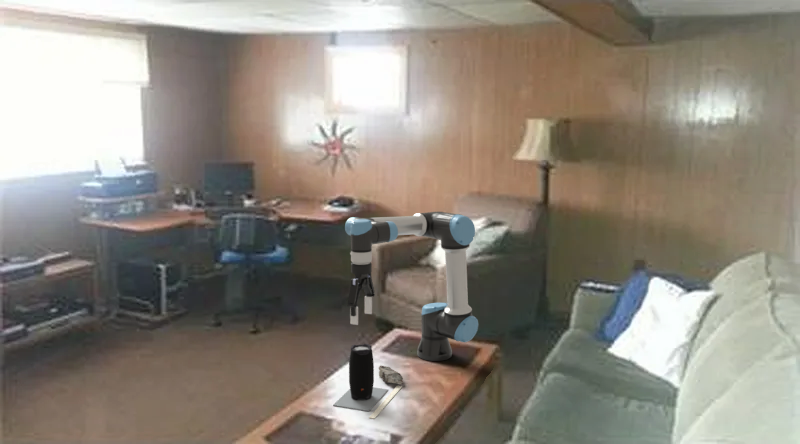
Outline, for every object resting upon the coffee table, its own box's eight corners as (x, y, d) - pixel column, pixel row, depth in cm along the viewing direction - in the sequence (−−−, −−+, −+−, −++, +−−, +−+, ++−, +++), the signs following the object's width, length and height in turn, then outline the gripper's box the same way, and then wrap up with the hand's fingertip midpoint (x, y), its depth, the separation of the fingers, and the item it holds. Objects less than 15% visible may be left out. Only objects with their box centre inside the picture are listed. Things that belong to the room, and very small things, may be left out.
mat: (354, 385, 274) (354, 384, 274) (388, 390, 270) (388, 389, 270) (333, 405, 255) (333, 404, 255) (368, 411, 251) (368, 410, 251)
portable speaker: (369, 402, 257) (369, 351, 254) (345, 399, 260) (345, 349, 256) (376, 393, 265) (376, 344, 262) (353, 390, 268) (353, 341, 265)
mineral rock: (405, 386, 273) (406, 375, 272) (386, 388, 271) (386, 377, 270) (396, 373, 287) (396, 362, 286) (377, 375, 285) (377, 364, 284)
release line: (397, 386, 274) (397, 385, 274) (402, 386, 273) (402, 386, 273) (369, 418, 246) (369, 417, 246) (374, 419, 245) (374, 418, 245)
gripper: (364, 254, 267) (364, 308, 270) (337, 268, 243) (338, 327, 247) (383, 256, 264) (382, 310, 268) (357, 270, 241) (357, 330, 245)
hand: (361, 318), depth 257 cm, fingers open, 13 cm apart
